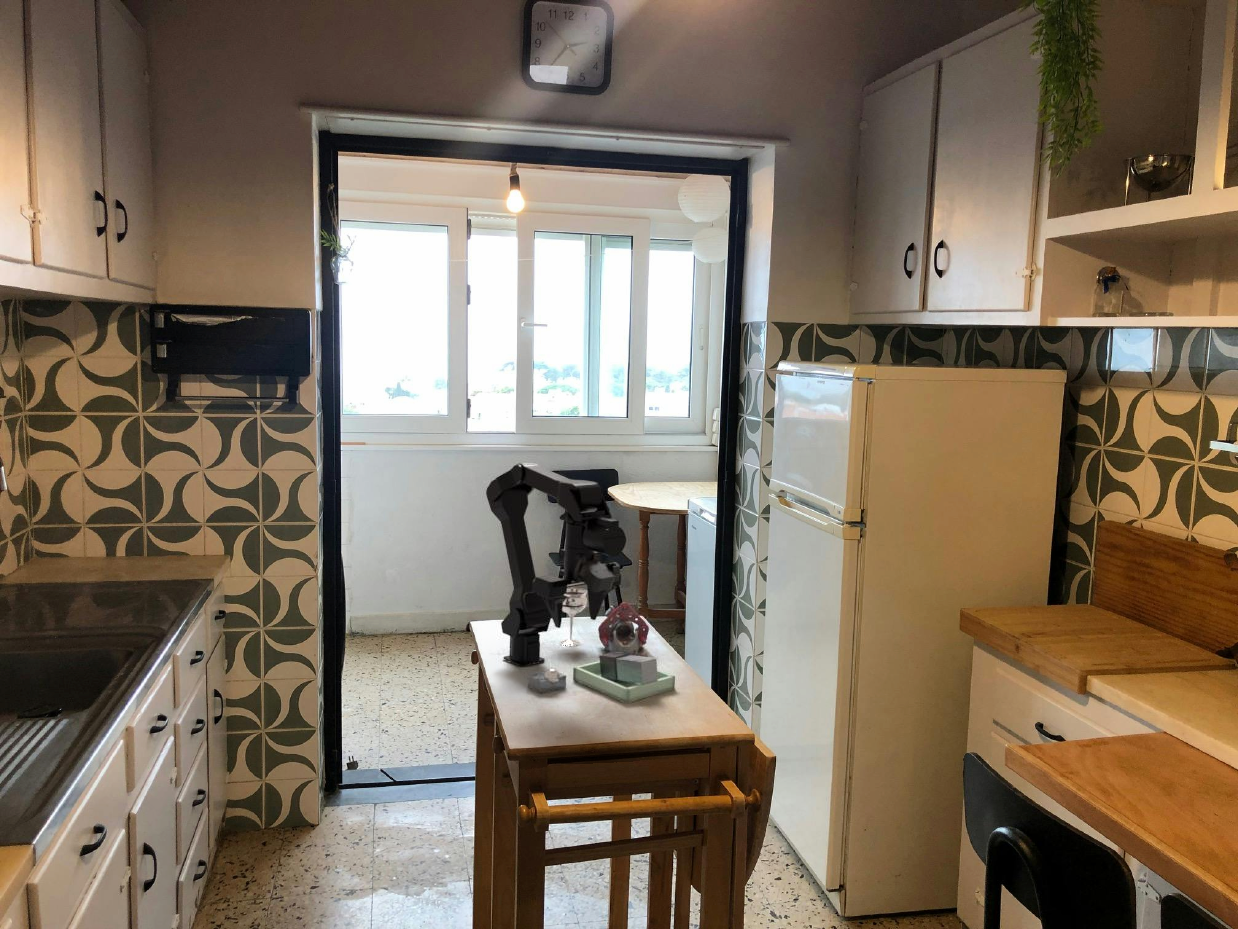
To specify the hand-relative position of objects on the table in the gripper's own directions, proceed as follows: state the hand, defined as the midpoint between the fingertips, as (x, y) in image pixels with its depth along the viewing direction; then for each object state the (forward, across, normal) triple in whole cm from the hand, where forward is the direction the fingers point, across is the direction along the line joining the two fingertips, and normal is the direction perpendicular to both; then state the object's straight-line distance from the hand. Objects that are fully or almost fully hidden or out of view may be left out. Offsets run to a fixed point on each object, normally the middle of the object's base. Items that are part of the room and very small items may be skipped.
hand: (575, 623), depth 188 cm
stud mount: (+12, -6, +1) cm, 14 cm away
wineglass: (+13, +17, +20) cm, 29 cm away
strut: (+10, +7, -8) cm, 15 cm away
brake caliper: (+13, +23, +9) cm, 28 cm away
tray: (+12, +7, -7) cm, 16 cm away
